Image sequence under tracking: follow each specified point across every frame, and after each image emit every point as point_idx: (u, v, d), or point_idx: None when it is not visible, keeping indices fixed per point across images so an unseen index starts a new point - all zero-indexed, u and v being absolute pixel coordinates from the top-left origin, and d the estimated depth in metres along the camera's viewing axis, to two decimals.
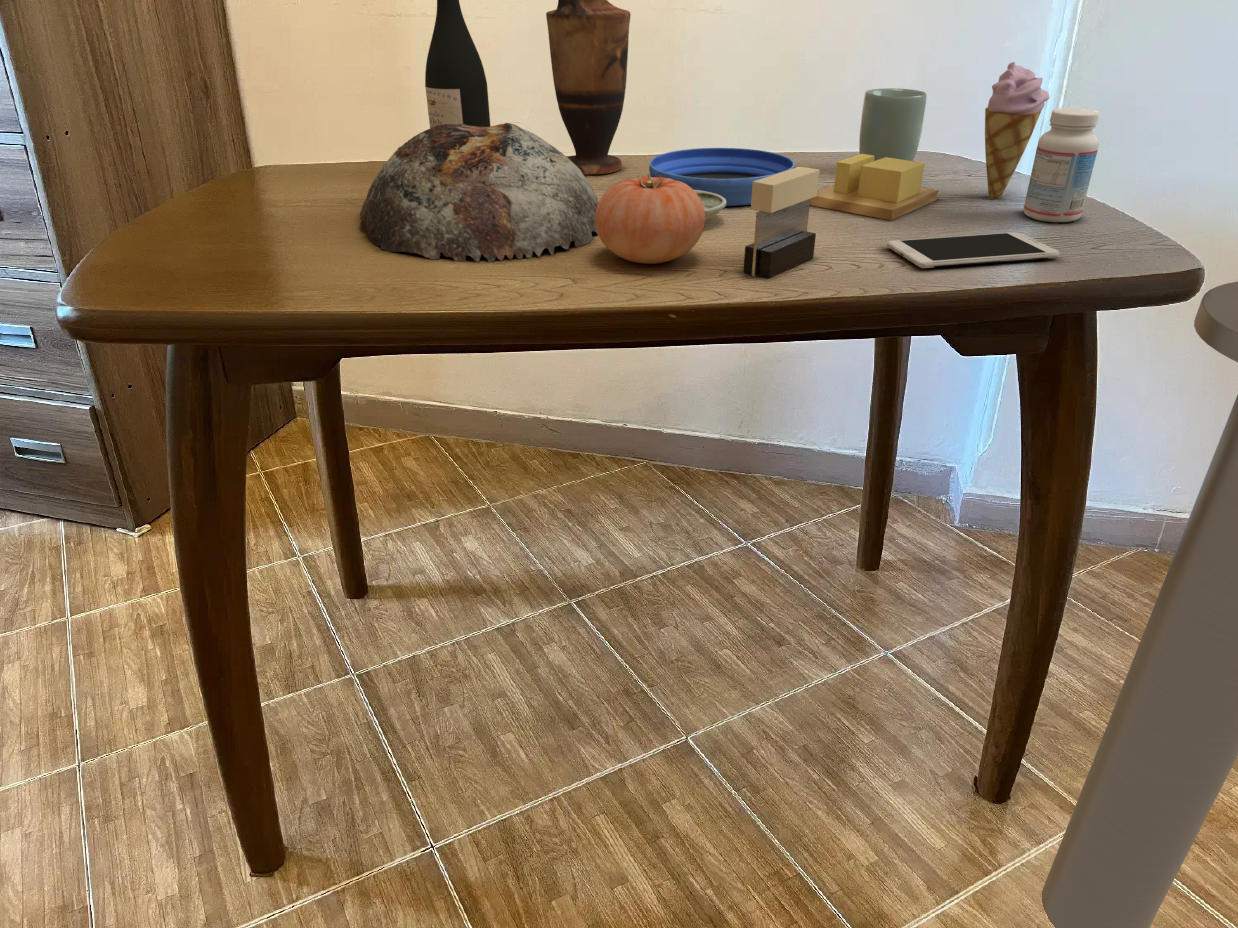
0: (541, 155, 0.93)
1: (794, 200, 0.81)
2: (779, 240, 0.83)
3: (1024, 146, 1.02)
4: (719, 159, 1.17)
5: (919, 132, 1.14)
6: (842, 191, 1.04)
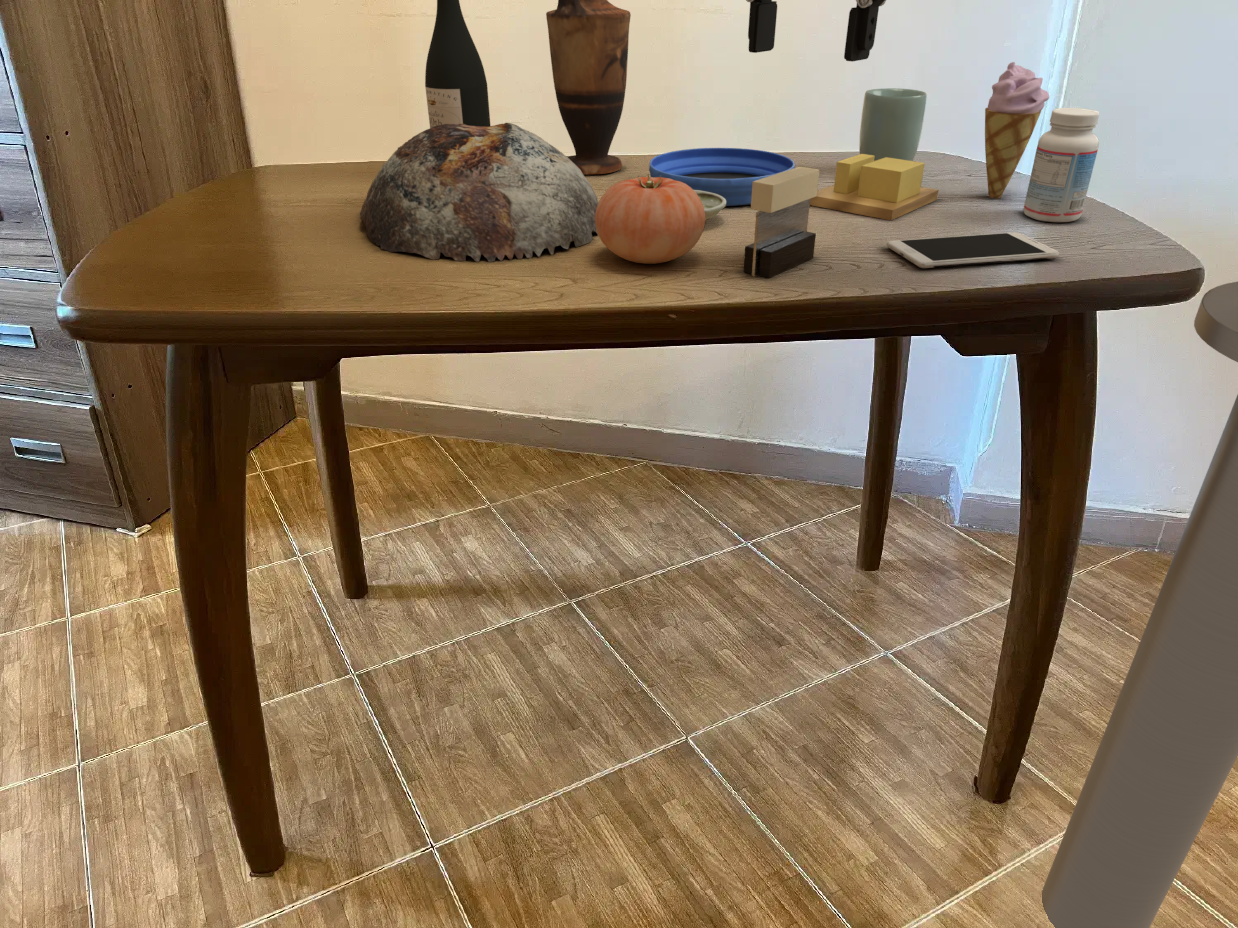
0: (541, 155, 0.93)
1: (794, 200, 0.81)
2: (779, 240, 0.83)
3: (1024, 146, 1.02)
4: (719, 159, 1.17)
5: (919, 132, 1.14)
6: (842, 191, 1.04)
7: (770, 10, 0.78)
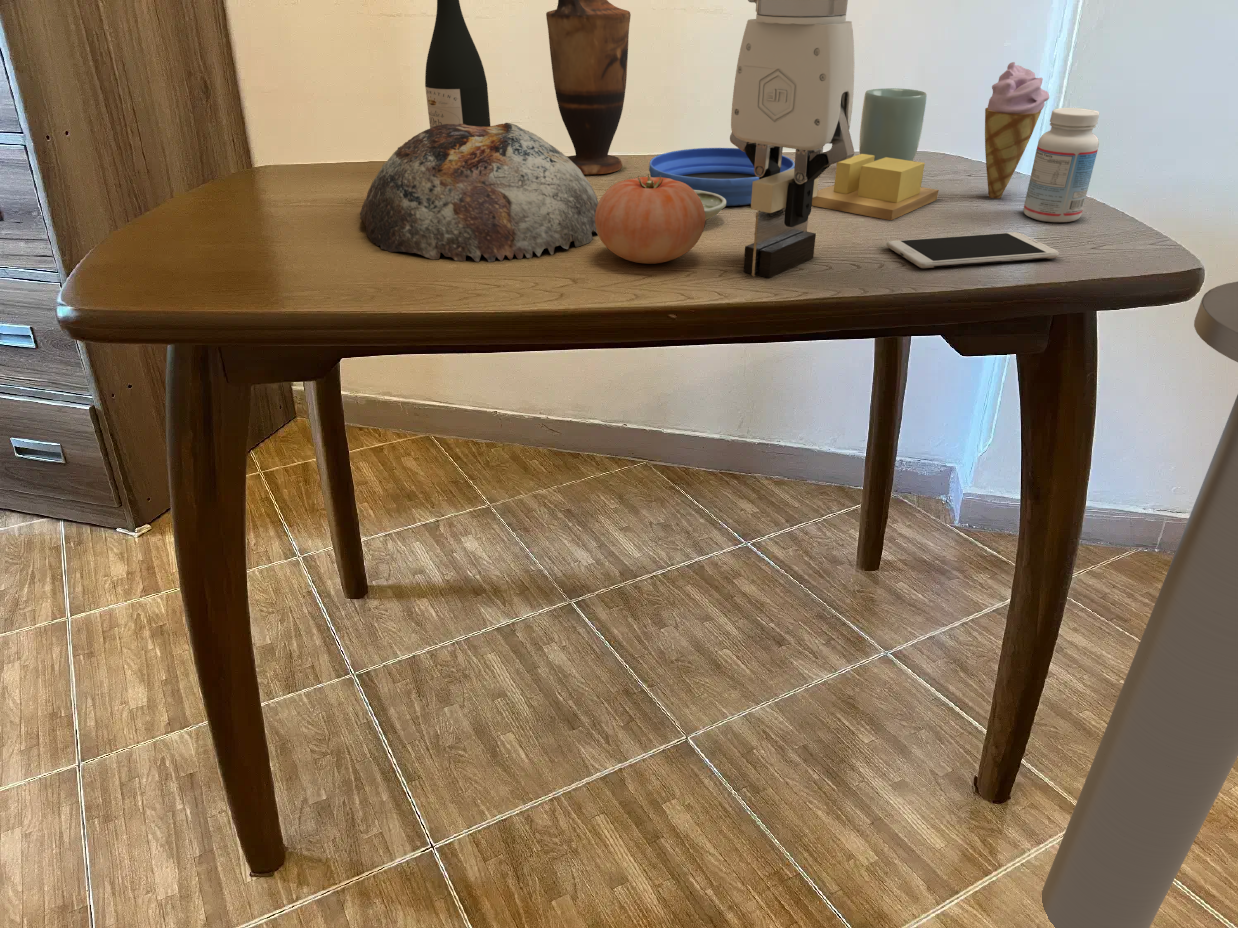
0: (541, 155, 0.93)
1: None
2: (779, 240, 0.83)
3: (1024, 146, 1.02)
4: (719, 159, 1.17)
5: (919, 132, 1.14)
6: (842, 191, 1.04)
7: None
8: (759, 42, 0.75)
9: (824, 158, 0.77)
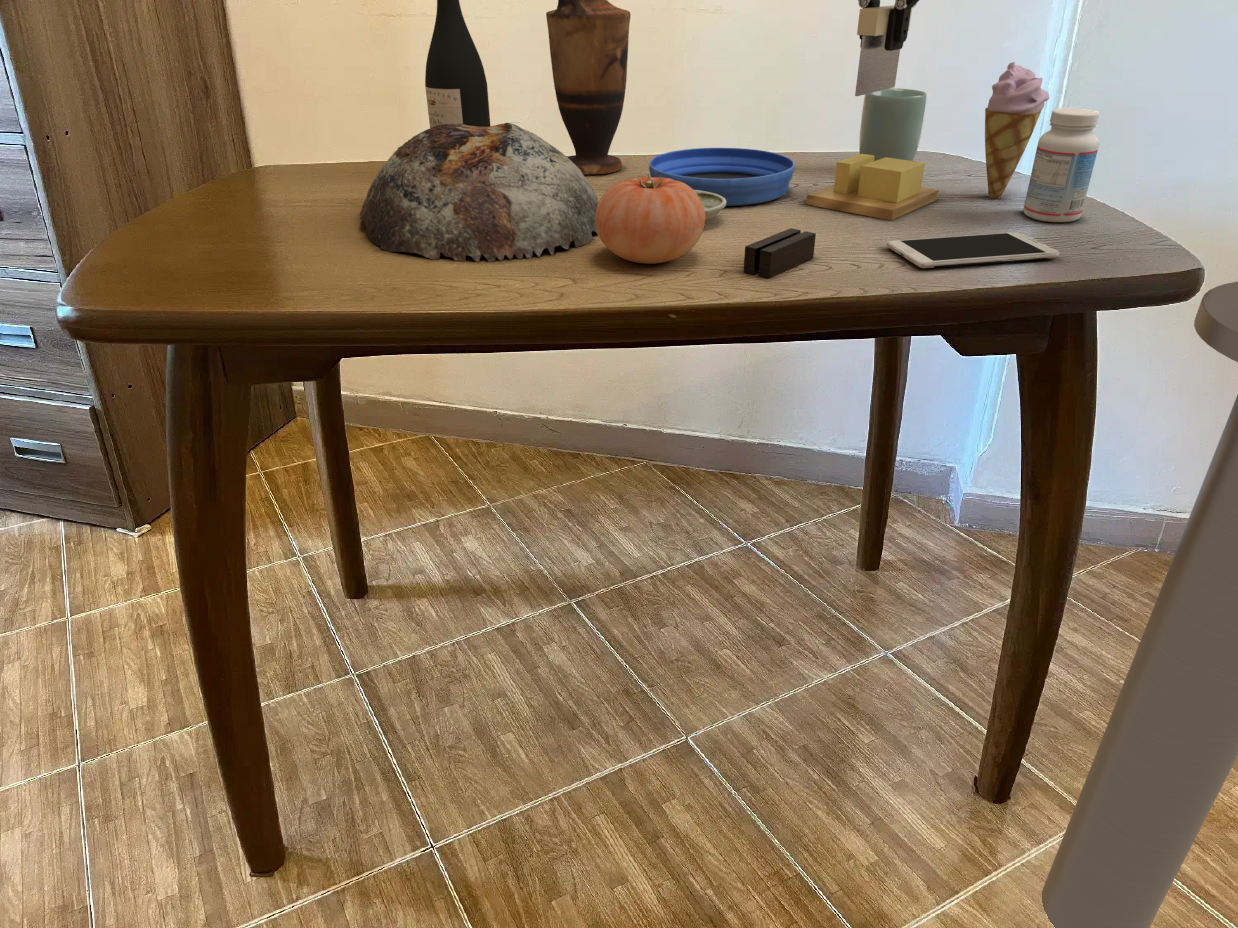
0: (541, 155, 0.93)
1: None
2: (877, 67, 0.97)
3: (1024, 146, 1.02)
4: (719, 159, 1.17)
5: (919, 132, 1.14)
6: (842, 191, 1.04)
7: None
8: None
9: None
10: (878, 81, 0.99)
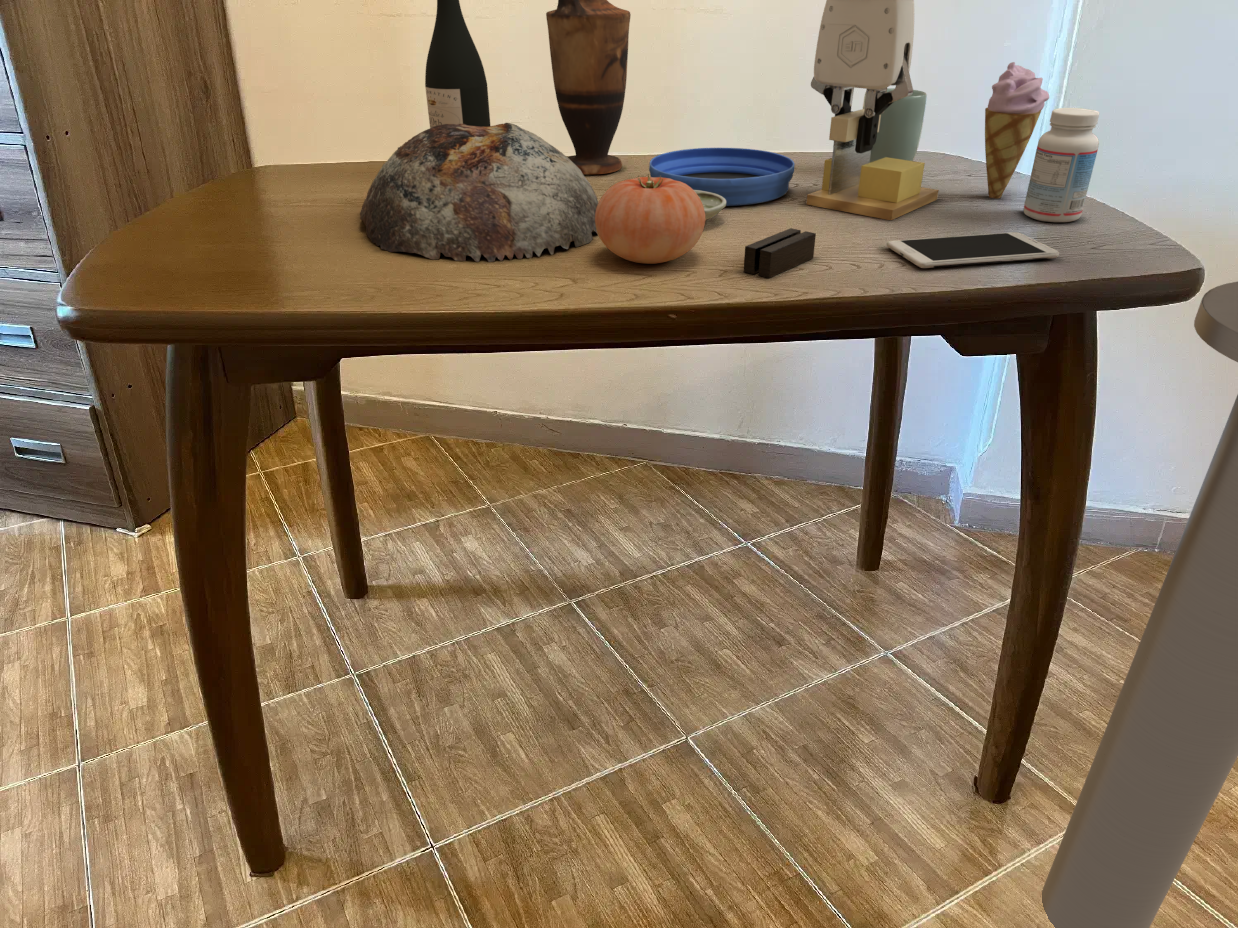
0: (541, 155, 0.93)
1: None
2: (849, 167, 1.05)
3: (1024, 146, 1.02)
4: (719, 159, 1.17)
5: (919, 132, 1.14)
6: None
7: None
8: (840, 4, 0.96)
9: (889, 96, 0.98)
10: (851, 178, 1.06)
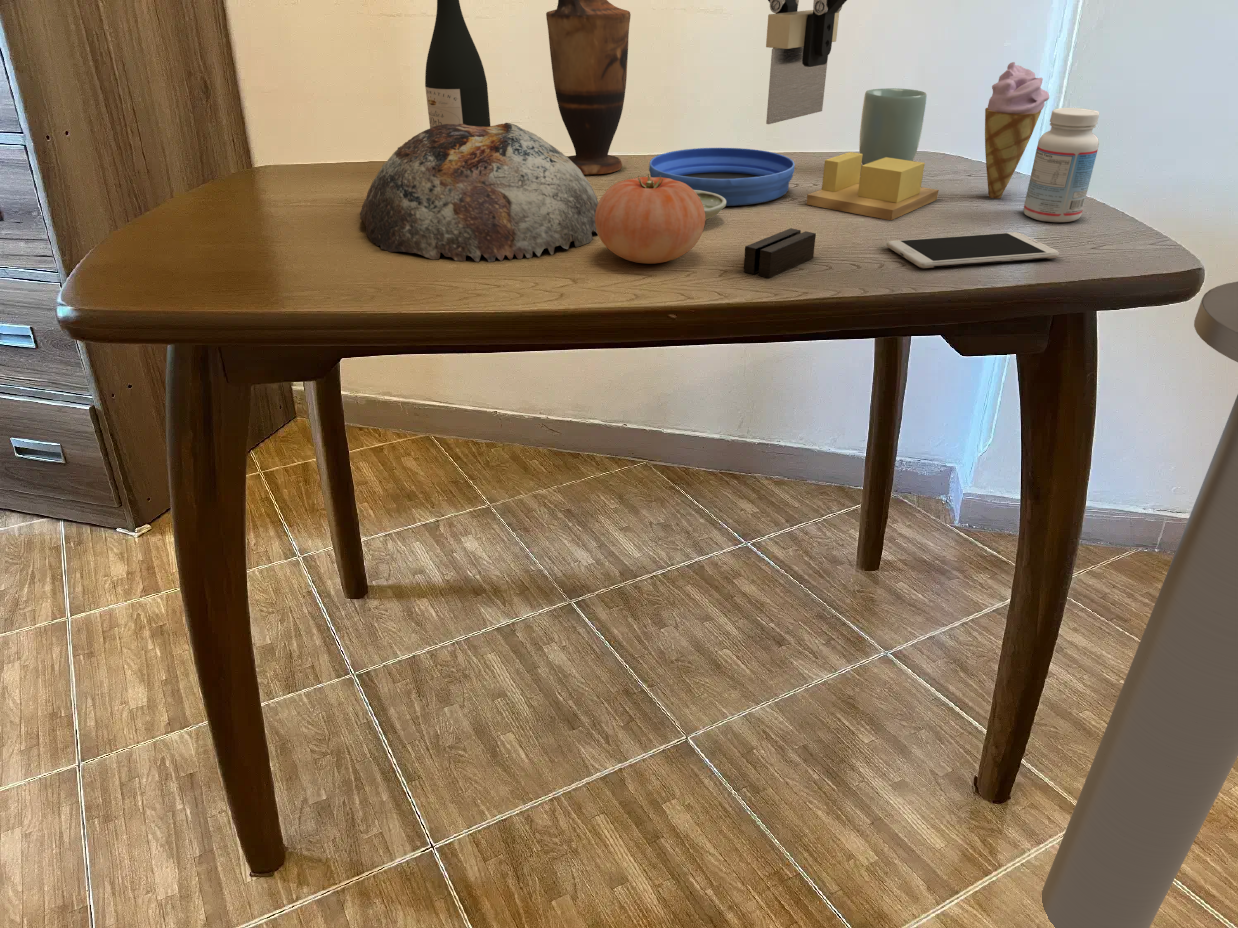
0: (541, 155, 0.93)
1: None
2: (796, 87, 0.78)
3: (1024, 146, 1.02)
4: (719, 159, 1.17)
5: (919, 132, 1.14)
6: (830, 189, 1.05)
7: None
8: None
9: None
10: (799, 104, 0.79)
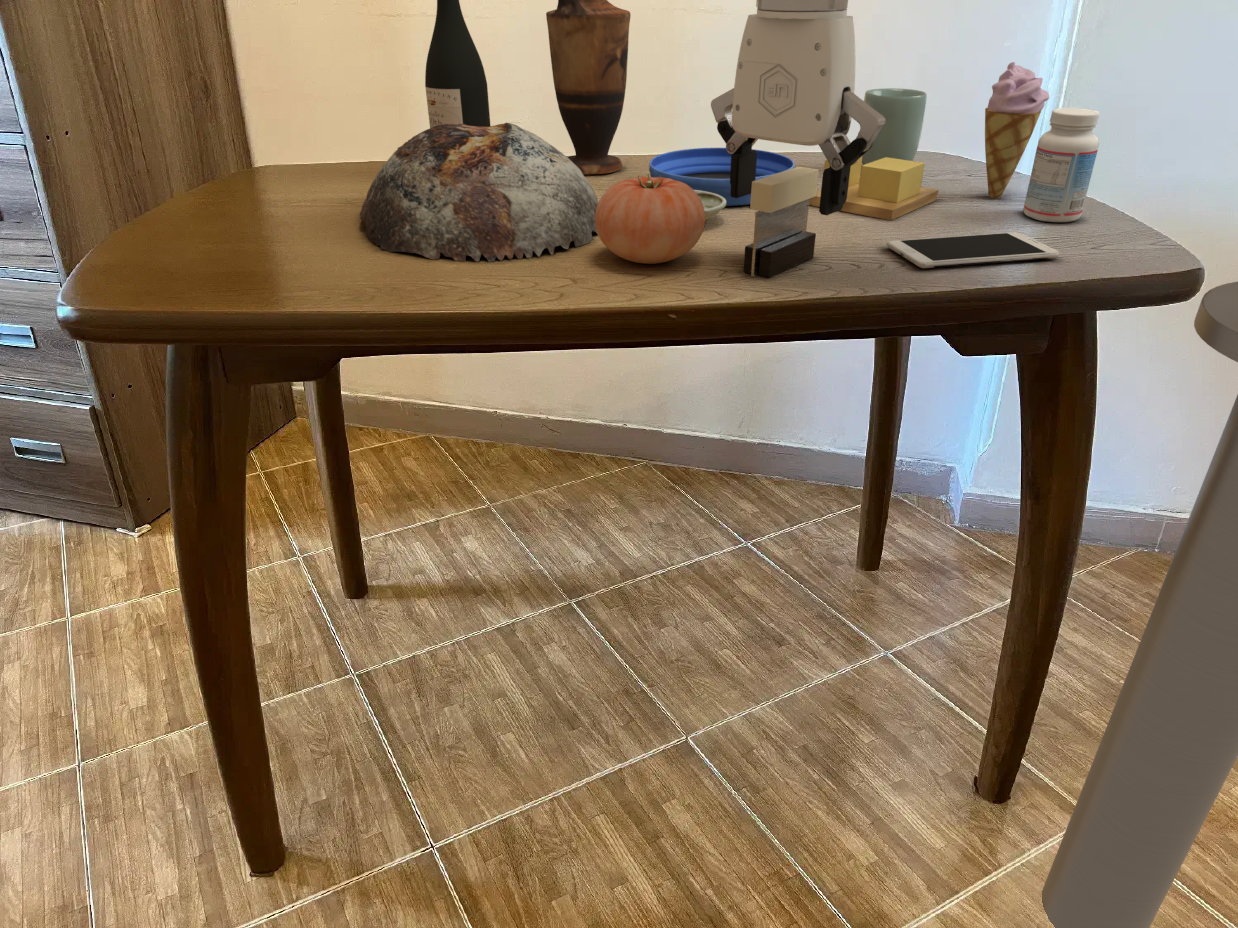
0: (541, 155, 0.93)
1: (793, 200, 0.81)
2: (778, 240, 0.83)
3: (1024, 146, 1.02)
4: (719, 159, 1.17)
5: (919, 132, 1.14)
6: None
7: (750, 159, 0.83)
8: (759, 37, 0.74)
9: (862, 143, 0.74)
10: None
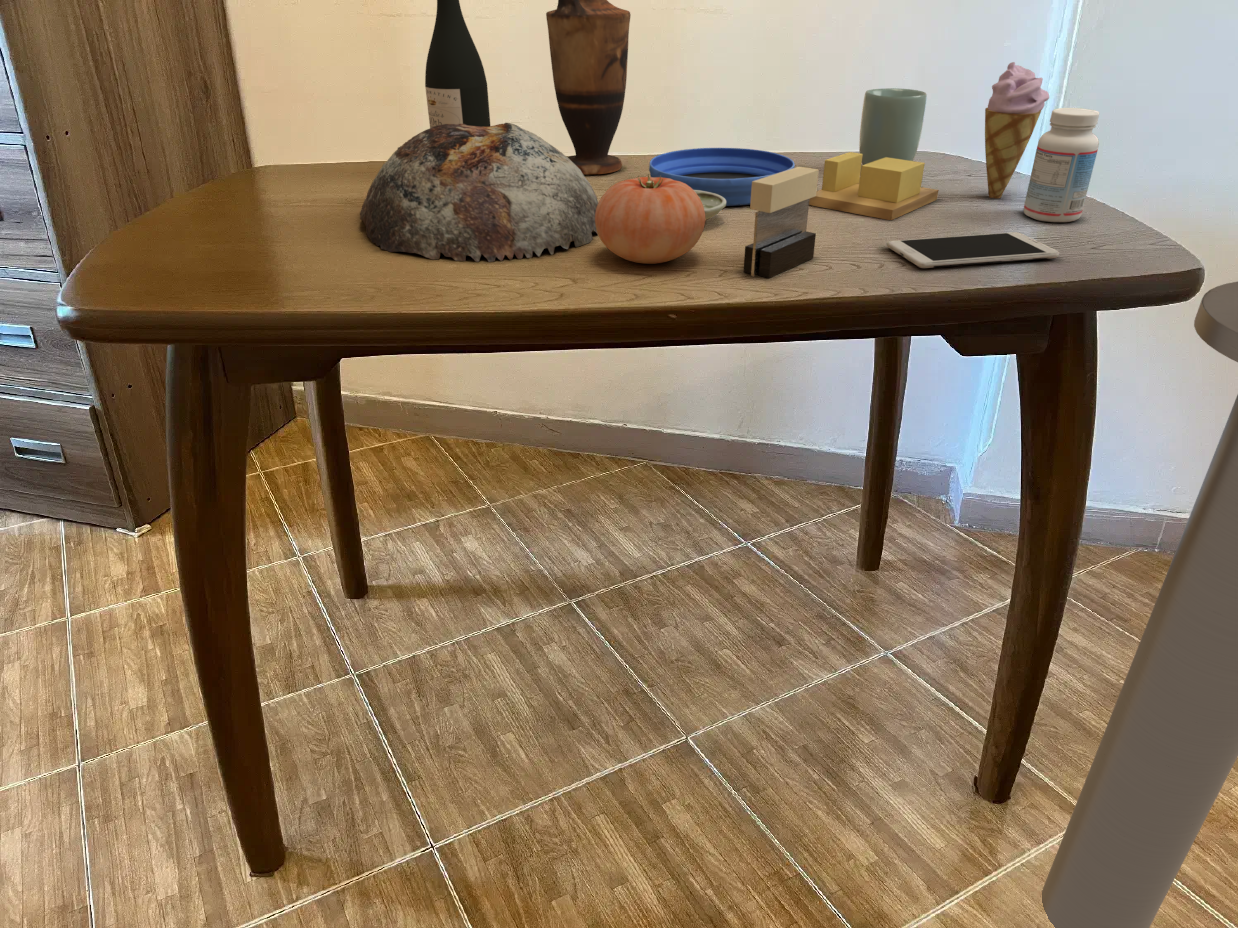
0: (541, 155, 0.93)
1: (793, 200, 0.81)
2: (778, 240, 0.83)
3: (1024, 146, 1.02)
4: (719, 159, 1.17)
5: (919, 132, 1.14)
6: (830, 189, 1.05)
7: None
8: None
9: None
10: None
